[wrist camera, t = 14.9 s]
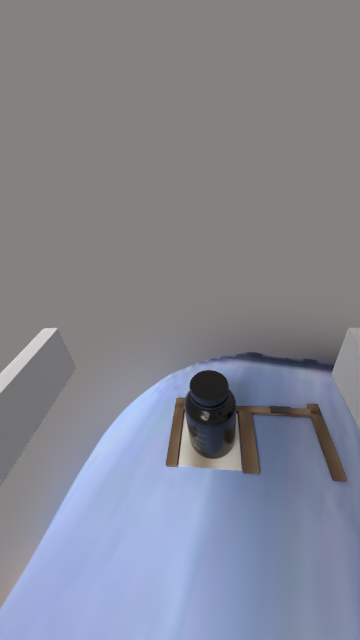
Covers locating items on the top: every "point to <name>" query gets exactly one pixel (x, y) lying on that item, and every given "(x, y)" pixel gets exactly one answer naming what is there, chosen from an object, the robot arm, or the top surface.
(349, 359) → the robot arm
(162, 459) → the top surface
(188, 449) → the flat wooden frame
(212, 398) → the supplement bottle
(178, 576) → the top surface
